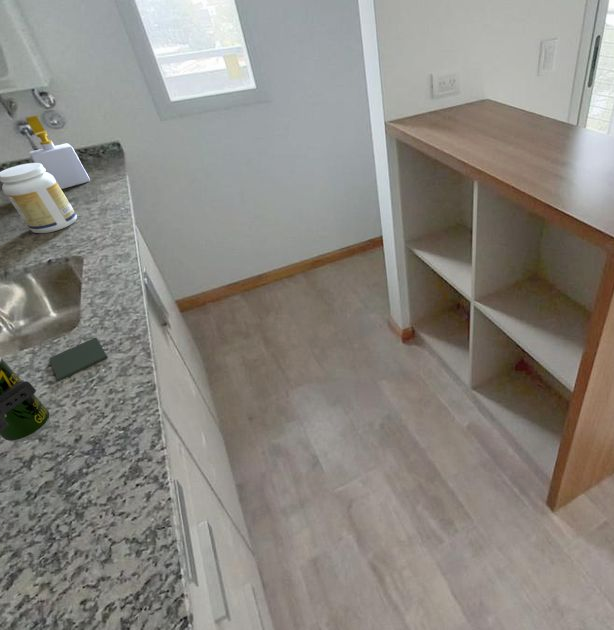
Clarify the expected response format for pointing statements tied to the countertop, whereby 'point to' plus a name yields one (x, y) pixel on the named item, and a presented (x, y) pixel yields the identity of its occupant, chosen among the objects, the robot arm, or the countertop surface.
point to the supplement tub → (37, 198)
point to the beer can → (22, 411)
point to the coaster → (77, 358)
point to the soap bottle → (57, 158)
